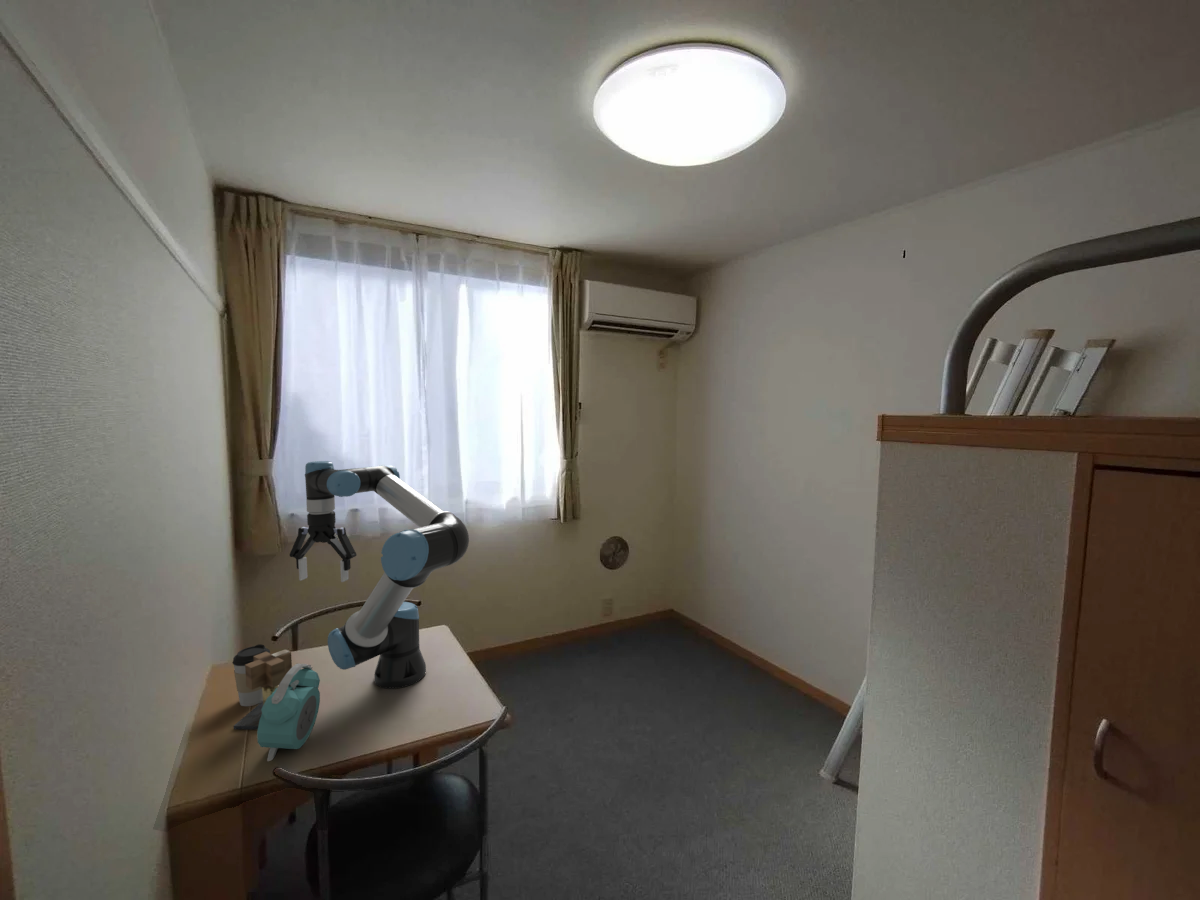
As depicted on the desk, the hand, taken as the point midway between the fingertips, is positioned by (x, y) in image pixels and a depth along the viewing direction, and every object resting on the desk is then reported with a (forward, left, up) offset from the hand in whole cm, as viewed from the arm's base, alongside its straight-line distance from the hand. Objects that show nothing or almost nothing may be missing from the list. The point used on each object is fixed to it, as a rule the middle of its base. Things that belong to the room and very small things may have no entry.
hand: (324, 579), depth 153 cm
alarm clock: (-8, +31, -32) cm, 45 cm away
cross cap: (+5, +19, -22) cm, 30 cm away
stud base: (+5, +19, -32) cm, 37 cm away
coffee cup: (+15, +11, -32) cm, 37 cm away
